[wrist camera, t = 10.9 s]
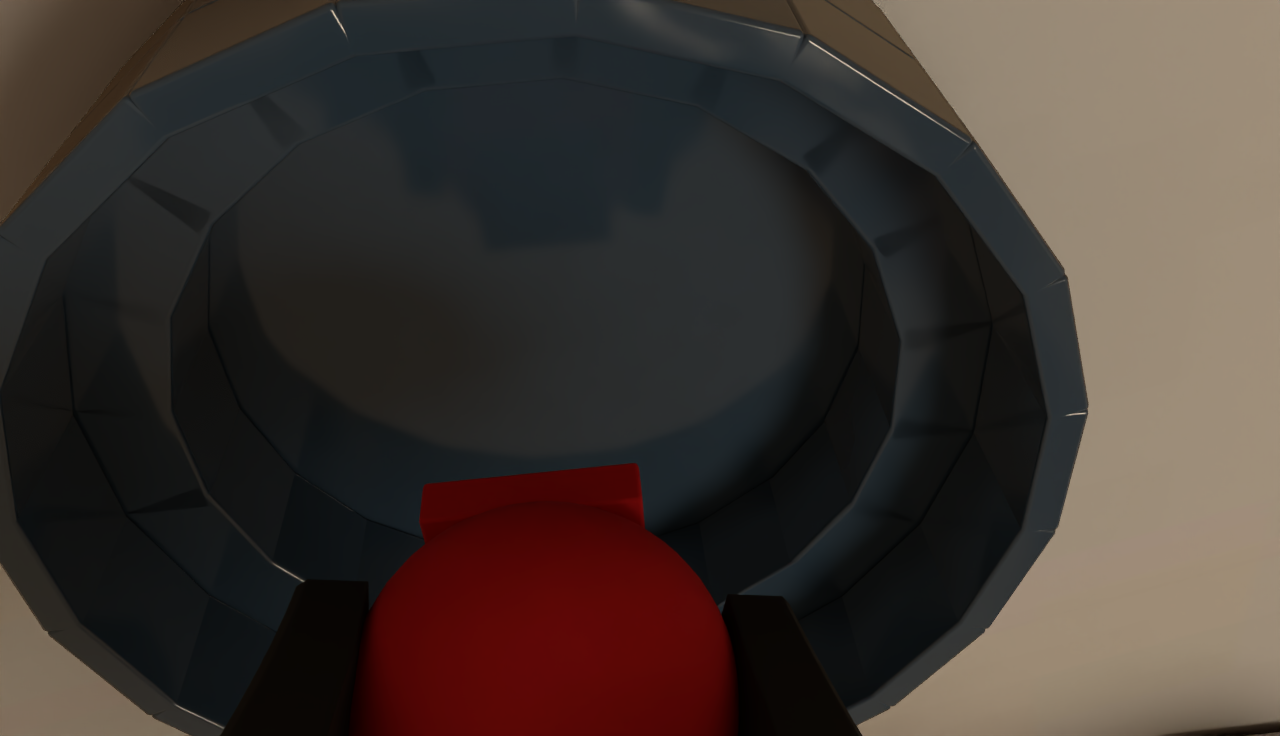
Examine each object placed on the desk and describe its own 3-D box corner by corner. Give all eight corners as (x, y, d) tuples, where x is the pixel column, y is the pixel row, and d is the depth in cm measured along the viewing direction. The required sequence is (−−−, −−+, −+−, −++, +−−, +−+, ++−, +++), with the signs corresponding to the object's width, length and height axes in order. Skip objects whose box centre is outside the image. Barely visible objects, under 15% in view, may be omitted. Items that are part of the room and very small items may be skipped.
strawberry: (708, 398, 11) (784, 779, 8) (715, 633, 14) (776, 999, 10) (332, 436, 11) (243, 836, 8) (408, 664, 14) (365, 1046, 10)
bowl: (1027, -187, 12) (1221, -78, 9) (917, 553, 21) (997, 763, 17) (-84, -91, 12) (-334, 62, 9) (247, 621, 20) (186, 850, 17)
